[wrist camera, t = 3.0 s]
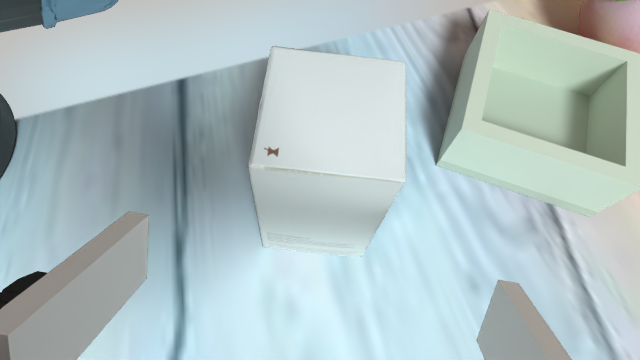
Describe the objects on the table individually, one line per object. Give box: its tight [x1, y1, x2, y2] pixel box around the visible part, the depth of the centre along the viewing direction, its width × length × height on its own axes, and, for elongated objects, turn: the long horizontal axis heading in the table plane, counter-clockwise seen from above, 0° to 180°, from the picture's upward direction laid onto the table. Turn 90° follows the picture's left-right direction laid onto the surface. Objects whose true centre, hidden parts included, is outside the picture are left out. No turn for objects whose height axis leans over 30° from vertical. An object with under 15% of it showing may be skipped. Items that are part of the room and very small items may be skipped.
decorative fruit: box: [579, 0, 640, 54], centre depth 35 cm, size 9×8×10 cm
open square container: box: [436, 9, 640, 217], centre depth 33 cm, size 12×12×6 cm
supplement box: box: [248, 46, 406, 257], centre depth 25 cm, size 7×7×13 cm
